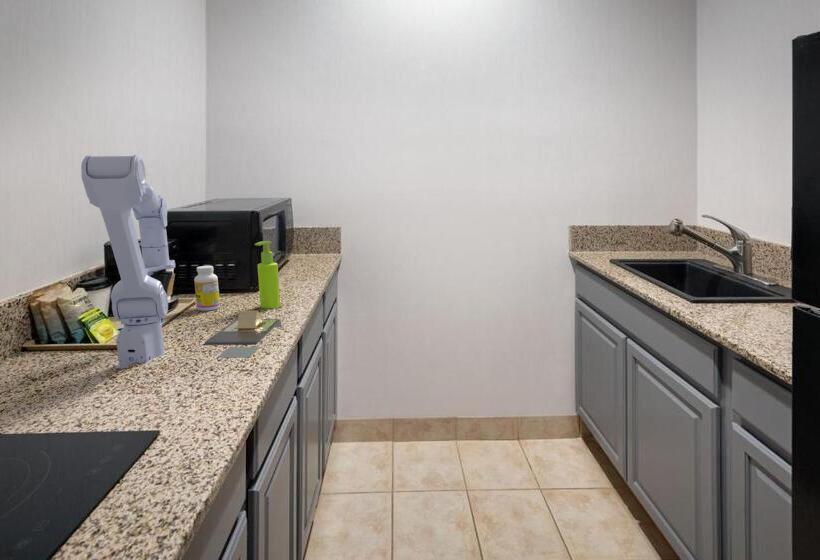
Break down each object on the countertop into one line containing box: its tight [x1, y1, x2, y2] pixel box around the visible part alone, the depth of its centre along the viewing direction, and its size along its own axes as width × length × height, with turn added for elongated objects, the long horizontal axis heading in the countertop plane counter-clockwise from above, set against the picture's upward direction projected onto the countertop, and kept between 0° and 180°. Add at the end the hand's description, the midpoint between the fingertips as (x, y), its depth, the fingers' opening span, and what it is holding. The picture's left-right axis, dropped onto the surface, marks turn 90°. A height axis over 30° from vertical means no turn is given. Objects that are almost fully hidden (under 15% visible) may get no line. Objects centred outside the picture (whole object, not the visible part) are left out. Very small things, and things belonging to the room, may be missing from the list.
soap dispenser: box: [254, 240, 281, 309], centre depth 166 cm, size 6×7×20 cm
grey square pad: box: [216, 346, 261, 359], centre depth 119 cm, size 7×7×2 cm
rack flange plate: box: [204, 318, 282, 345], centre depth 135 cm, size 20×12×2 cm, turn 178°
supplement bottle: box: [193, 265, 221, 312], centre depth 165 cm, size 7×7×13 cm
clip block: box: [237, 310, 263, 329], centre depth 138 cm, size 4×4×4 cm
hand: (160, 302), depth 133 cm, fingers closed
